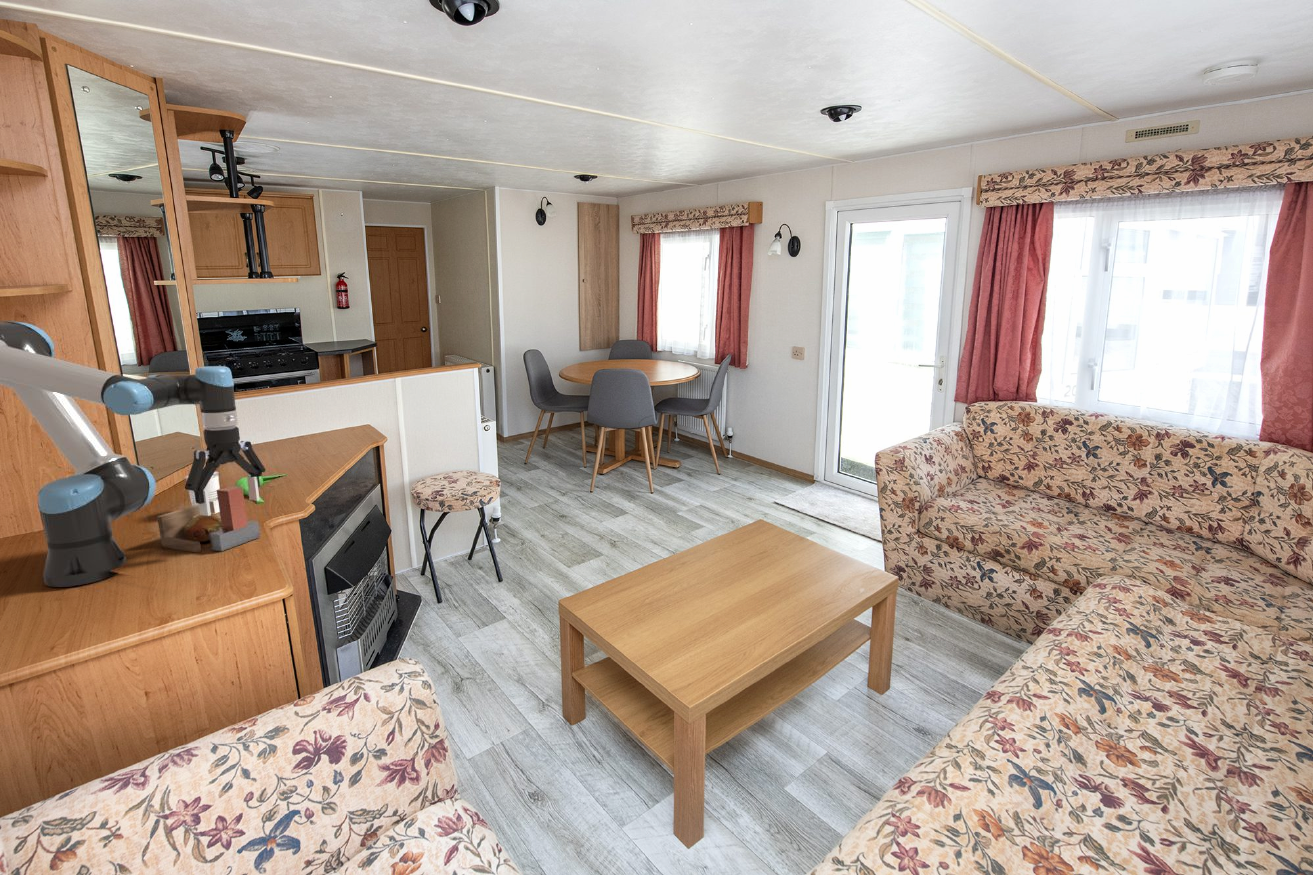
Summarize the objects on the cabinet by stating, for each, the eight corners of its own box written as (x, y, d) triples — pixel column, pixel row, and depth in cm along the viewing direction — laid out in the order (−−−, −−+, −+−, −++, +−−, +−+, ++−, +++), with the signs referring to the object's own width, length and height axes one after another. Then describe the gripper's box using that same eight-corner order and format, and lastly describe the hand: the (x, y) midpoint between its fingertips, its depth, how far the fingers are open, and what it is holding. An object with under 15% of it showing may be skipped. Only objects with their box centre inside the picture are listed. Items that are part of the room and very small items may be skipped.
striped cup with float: (205, 518, 189) (199, 479, 187) (181, 516, 191) (175, 478, 189) (233, 508, 199) (228, 471, 197) (210, 506, 201) (204, 469, 198)
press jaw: (223, 551, 163) (214, 495, 160) (211, 549, 164) (203, 493, 161) (261, 537, 173) (254, 483, 170) (250, 535, 175) (243, 482, 172)
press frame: (196, 552, 163) (191, 522, 161) (159, 546, 167) (154, 517, 166) (251, 532, 177) (247, 505, 176) (215, 527, 182) (211, 500, 180)
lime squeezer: (264, 505, 203) (261, 486, 201) (221, 508, 200) (218, 489, 198) (293, 478, 234) (291, 462, 233) (256, 481, 231) (254, 464, 230)
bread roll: (228, 540, 179) (222, 512, 180) (235, 534, 172) (228, 505, 172) (185, 549, 172) (179, 520, 173) (190, 543, 165) (183, 513, 166)
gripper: (182, 437, 150) (194, 523, 154) (274, 420, 173) (283, 495, 177) (159, 435, 152) (171, 520, 156) (254, 418, 175) (262, 492, 180)
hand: (231, 507), depth 167 cm, fingers open, 13 cm apart
